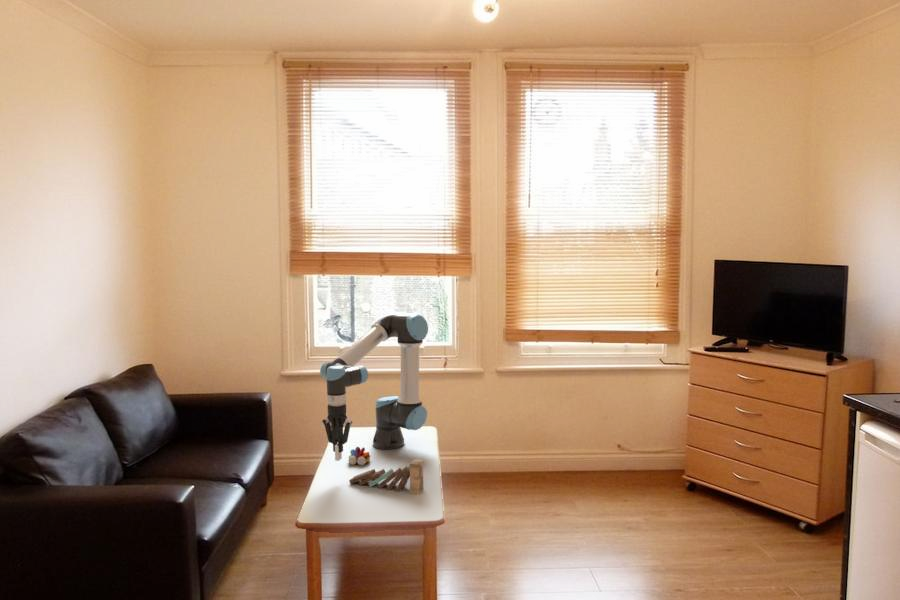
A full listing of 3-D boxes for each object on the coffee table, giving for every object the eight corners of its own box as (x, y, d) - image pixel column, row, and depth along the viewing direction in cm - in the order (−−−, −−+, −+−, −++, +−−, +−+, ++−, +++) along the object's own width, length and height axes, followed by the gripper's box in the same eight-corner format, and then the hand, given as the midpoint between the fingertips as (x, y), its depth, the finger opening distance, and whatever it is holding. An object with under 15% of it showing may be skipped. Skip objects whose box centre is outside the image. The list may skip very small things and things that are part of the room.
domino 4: (386, 487, 243) (401, 470, 240) (392, 482, 248) (406, 465, 245) (389, 490, 243) (404, 473, 240) (395, 485, 247) (409, 468, 244)
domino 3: (377, 485, 244) (394, 471, 241) (383, 480, 249) (400, 467, 246) (380, 488, 244) (397, 475, 241) (385, 483, 249) (402, 470, 246)
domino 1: (349, 480, 249) (368, 473, 245) (355, 476, 253) (374, 468, 250) (350, 484, 249) (370, 476, 245) (356, 479, 253) (375, 472, 250)
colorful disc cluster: (366, 467, 267) (366, 451, 267) (345, 465, 270) (345, 449, 269) (372, 460, 276) (372, 444, 275) (352, 458, 278) (352, 443, 277)
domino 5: (396, 489, 242) (406, 468, 239) (401, 484, 246) (411, 464, 244) (399, 491, 241) (409, 471, 239) (404, 486, 246) (414, 466, 243)
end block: (415, 488, 244) (414, 459, 243) (423, 489, 243) (422, 460, 242) (410, 493, 240) (409, 463, 238) (418, 494, 238) (417, 464, 237)
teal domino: (368, 483, 246) (386, 473, 242) (374, 479, 250) (392, 468, 247) (370, 487, 246) (388, 476, 242) (375, 482, 250) (394, 472, 247)
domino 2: (358, 482, 247) (378, 473, 244) (364, 477, 252) (383, 468, 248) (360, 485, 247) (379, 476, 244) (366, 481, 252) (385, 472, 248)
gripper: (318, 404, 249) (319, 460, 252) (346, 407, 245) (347, 464, 247) (327, 400, 256) (329, 454, 259) (355, 402, 252) (356, 458, 254)
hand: (338, 459), depth 253 cm, fingers closed
